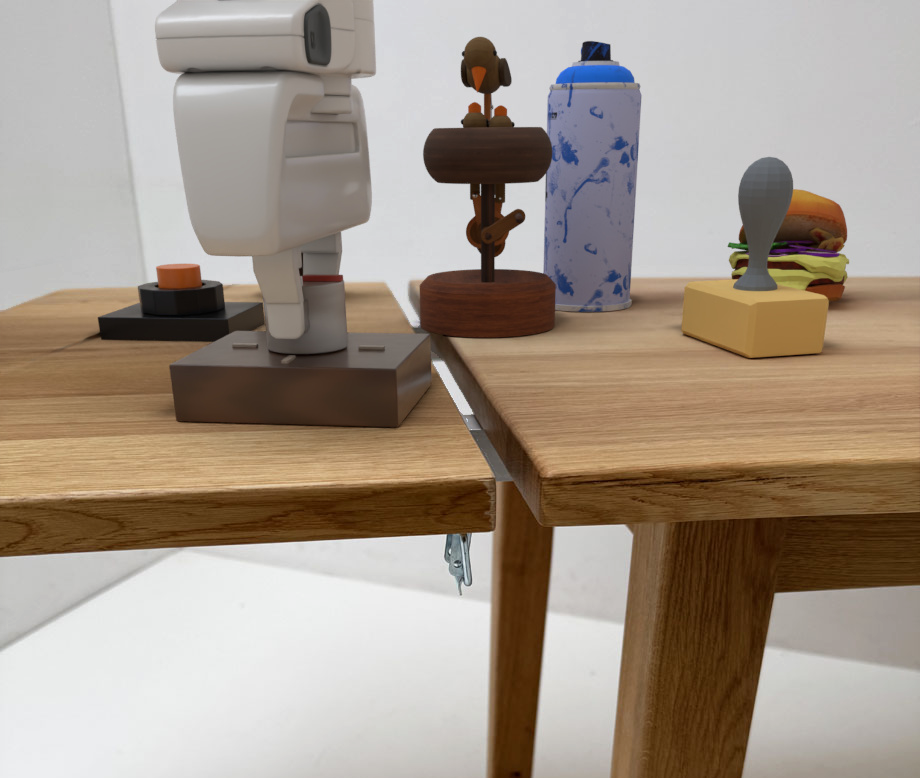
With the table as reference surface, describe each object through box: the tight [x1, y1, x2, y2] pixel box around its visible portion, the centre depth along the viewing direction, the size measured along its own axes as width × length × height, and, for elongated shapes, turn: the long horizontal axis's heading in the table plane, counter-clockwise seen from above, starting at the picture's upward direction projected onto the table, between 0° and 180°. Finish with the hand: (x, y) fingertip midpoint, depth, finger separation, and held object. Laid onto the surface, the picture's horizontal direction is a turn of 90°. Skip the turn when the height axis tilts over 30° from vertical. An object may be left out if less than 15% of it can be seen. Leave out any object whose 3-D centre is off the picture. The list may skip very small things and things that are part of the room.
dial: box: [262, 274, 348, 354], centre depth 56 cm, size 4×4×4 cm
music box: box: [419, 36, 556, 339], centre depth 75 cm, size 15×11×20 cm
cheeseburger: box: [727, 188, 850, 302], centre depth 88 cm, size 10×11×10 cm
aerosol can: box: [542, 40, 643, 313], centre depth 85 cm, size 8×8×20 cm
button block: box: [97, 279, 265, 343], centre depth 78 cm, size 10×8×4 cm
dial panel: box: [168, 330, 433, 428], centre depth 57 cm, size 12×10×3 cm
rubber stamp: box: [680, 156, 830, 359], centre depth 69 cm, size 10×6×12 cm, turn 15°
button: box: [155, 263, 203, 288], centre depth 77 cm, size 3×3×2 cm
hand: (305, 327), depth 56 cm, fingers closed on dial, 4 cm apart
